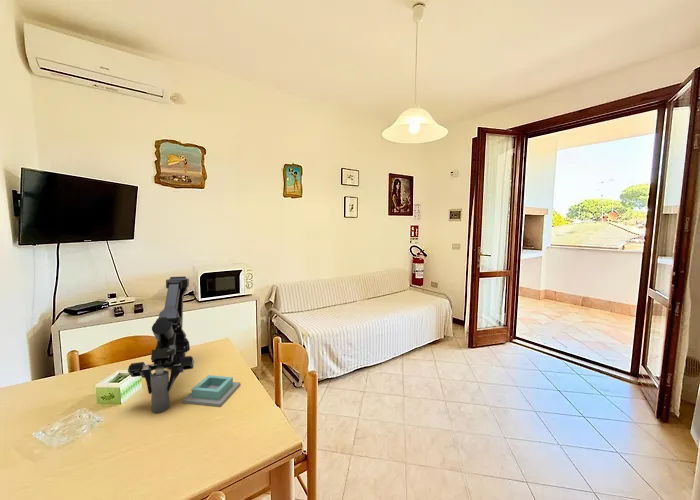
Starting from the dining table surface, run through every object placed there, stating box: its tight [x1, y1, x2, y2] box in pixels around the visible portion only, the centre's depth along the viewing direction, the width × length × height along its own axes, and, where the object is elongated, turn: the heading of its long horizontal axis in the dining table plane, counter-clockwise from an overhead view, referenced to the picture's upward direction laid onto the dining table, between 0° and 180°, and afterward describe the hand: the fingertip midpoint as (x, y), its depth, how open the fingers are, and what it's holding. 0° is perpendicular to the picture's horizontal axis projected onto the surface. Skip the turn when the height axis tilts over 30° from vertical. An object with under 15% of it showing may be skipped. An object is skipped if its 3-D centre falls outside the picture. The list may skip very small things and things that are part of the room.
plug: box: [150, 367, 170, 414], centre depth 98 cm, size 5×5×14 cm
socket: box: [182, 374, 241, 408], centre depth 108 cm, size 14×14×4 cm
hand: (159, 392), depth 96 cm, fingers closed on plug, 5 cm apart
